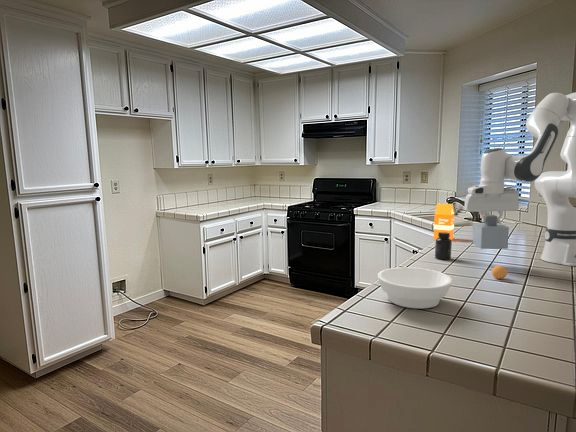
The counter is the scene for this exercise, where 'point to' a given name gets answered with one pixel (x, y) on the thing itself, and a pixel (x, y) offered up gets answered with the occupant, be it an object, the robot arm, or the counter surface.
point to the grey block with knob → (490, 234)
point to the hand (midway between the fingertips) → (490, 222)
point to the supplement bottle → (443, 246)
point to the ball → (499, 272)
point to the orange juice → (444, 220)
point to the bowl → (414, 286)
